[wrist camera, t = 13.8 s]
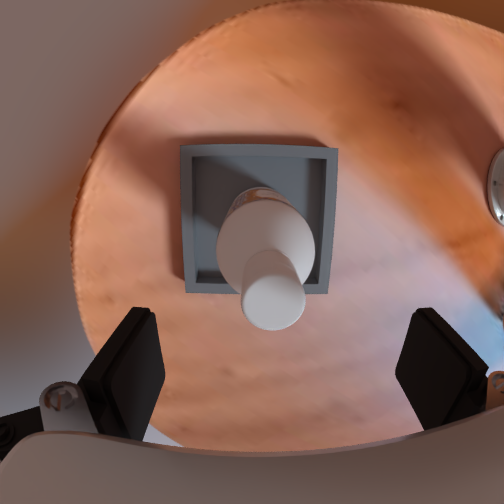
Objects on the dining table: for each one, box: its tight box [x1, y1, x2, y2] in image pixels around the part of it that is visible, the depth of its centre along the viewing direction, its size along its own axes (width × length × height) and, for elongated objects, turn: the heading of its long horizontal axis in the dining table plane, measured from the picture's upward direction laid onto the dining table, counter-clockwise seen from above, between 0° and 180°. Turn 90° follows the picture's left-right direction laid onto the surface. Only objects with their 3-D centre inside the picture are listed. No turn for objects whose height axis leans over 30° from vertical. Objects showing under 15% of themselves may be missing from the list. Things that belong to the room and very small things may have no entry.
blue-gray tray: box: [180, 144, 338, 294], centre depth 31 cm, size 16×16×2 cm
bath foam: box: [216, 187, 315, 330], centre depth 22 cm, size 7×7×20 cm
